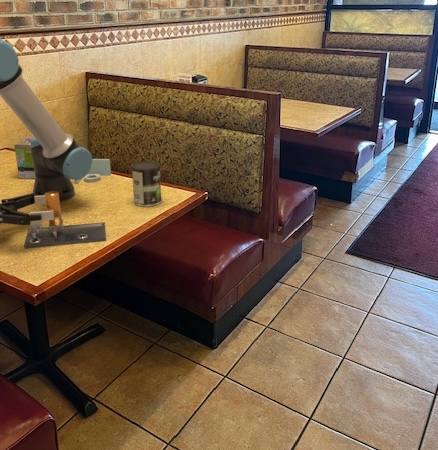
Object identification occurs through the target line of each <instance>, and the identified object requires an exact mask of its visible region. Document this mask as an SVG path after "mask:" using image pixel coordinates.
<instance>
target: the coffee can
mask: <svg viewBox="0 0 438 450" xmlns="http://www.w3.org/2000/svg"><path fill="white" fill-rule="evenodd" d="M130 167H131V174H132V177H131V178H132V189H133V190H132V191H133V204H134V205H136V206H138V207H148V208H149V207H155V206H158V205H160V204H161V203H162V201H163V200H162V187H161V186H162V183H161V164H160V163H159V162H157V161H148V160H144V161H138V162H135V163H134V162H133V163H132V164H131V166H130Z"/></svg>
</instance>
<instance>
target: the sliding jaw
mask: <svg viewBox="0 0 438 450" xmlns="http://www.w3.org/2000/svg"><path fill="white" fill-rule="evenodd" d="M45 199H46V204H45V206H46V211H53V215H54V220H48V227H49V231H53V234H54V238H55V239H56V238H57V230H63V226H64V220H63V216H62V211H61V201H59V194H58V192H56V191H50V192H47V193H45Z"/></svg>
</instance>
